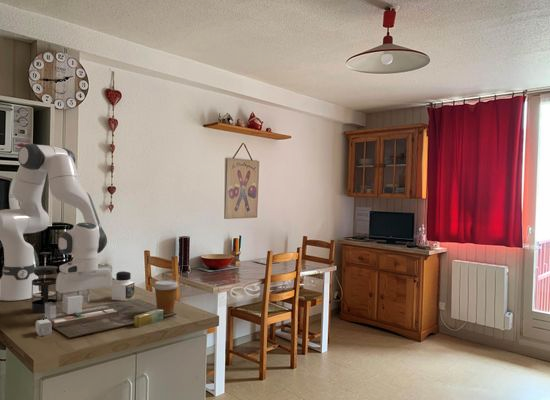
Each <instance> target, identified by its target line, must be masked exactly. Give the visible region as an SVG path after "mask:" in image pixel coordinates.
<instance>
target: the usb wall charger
mask: <svg viewBox="0 0 550 400" xmlns="http://www.w3.org/2000/svg"><path fill="white" fill-rule="evenodd" d="M52 328H53V326H52V323H51V322H50V321H49V320H48V319H44V320H43V319H39V320H38V319H37V320H36V321H35V332H36V334H37V335H38V336H39V337H41V336H45V335H46V336H47V335H51V334H52V331H53V329H52Z"/></svg>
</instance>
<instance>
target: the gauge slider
mask: <svg viewBox="0 0 550 400" xmlns="http://www.w3.org/2000/svg"><path fill="white" fill-rule="evenodd" d="M61 302H62V305H61V307H62V310H61V312H65V313H66V314H74V315H76V316H77V317H80V316H81V315H80V314H78V313H80V312H82V308H83V302H82V296H81V295H79V294H78V293H77V292H76V293H75V292H73V293H69V294H63V300H62V301H61Z"/></svg>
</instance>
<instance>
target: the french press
mask: <svg viewBox="0 0 550 400" xmlns="http://www.w3.org/2000/svg"><path fill="white" fill-rule="evenodd" d="M51 254H52V252H48V251H47V252H46V251H43V252H40V253H39V255H43V258H44V265H40V266H36V267H34V268H32V270H34V271H35V272H34V274H35V275H37V276H44V277H41V278H40V277H38V279H34V280H32V298H31V305H30V306H31V307H30V308H31V309H30V312H31V313H33V314H45V303H47V302H52V303H53V304H55V305H56V311H57V310H58V302H62V300H63V295H64V293H60V299H58V292H57V291H56V290H55V291H51V290H50V291H49V286H51V285H56V280H57V277H47V276H49V275H55V274H57V270H58V269H59V267H58V266H56V265H47V264H46V263H47V257H48V255H51ZM33 285H35V286H38V287H39V286H40V287H41V288H40V291H41V292H38V293H34V294H33ZM54 296H55V298H52V297H54ZM33 298H37V299H36V300H33Z"/></svg>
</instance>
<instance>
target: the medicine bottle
mask: <svg viewBox="0 0 550 400" xmlns="http://www.w3.org/2000/svg"><path fill="white" fill-rule="evenodd" d="M131 276H132V275H131V272H130V271H125V270H124V271H123V270H121V271H118V272H117V273H116V275H115V278H116V279H115V281H116V282H112V285H111V298H110V299H111V300H114V301H121V302H123V301H128V300H130V299H133V298H135V281H131Z"/></svg>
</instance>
